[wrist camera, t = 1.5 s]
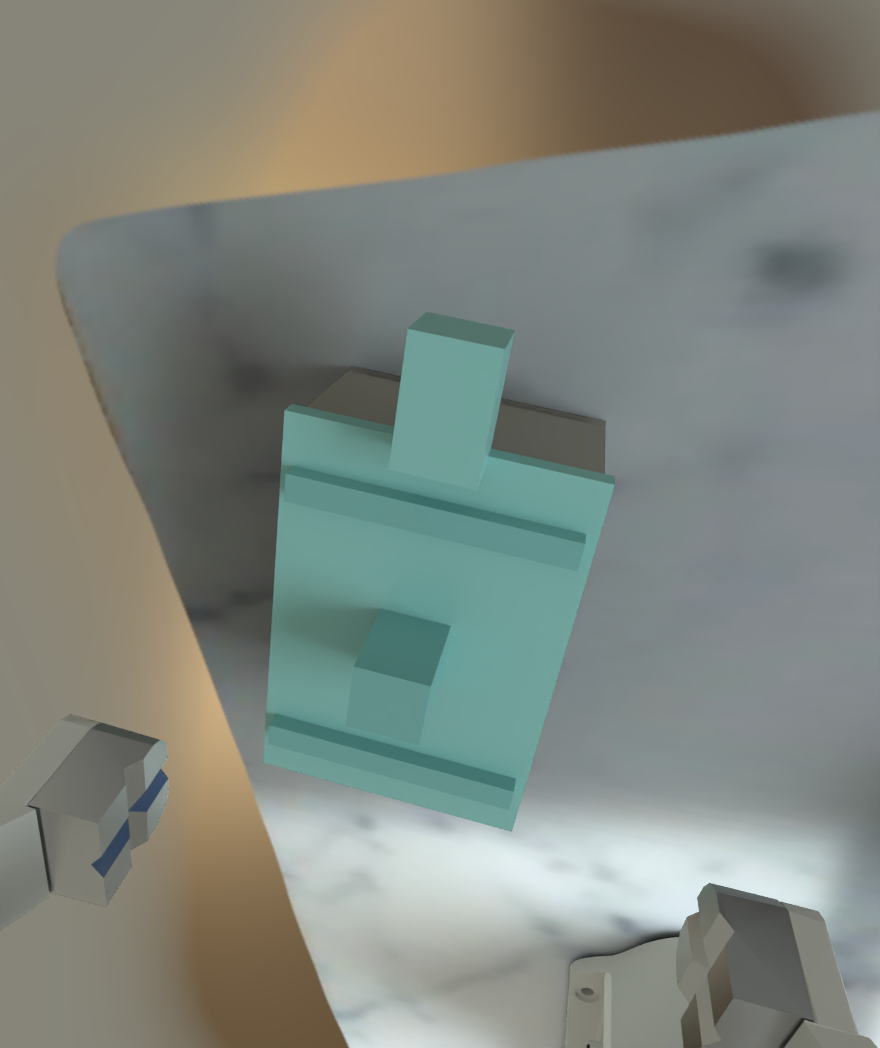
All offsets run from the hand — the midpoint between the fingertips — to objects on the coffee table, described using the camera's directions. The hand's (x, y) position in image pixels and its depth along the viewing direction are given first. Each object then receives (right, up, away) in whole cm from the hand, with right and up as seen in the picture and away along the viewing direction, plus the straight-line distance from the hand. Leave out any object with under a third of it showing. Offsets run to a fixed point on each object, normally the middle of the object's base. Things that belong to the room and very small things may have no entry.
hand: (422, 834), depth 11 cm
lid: (-1, +2, +21) cm, 21 cm away
